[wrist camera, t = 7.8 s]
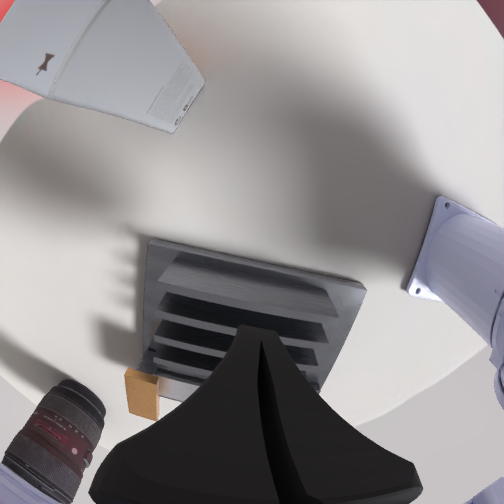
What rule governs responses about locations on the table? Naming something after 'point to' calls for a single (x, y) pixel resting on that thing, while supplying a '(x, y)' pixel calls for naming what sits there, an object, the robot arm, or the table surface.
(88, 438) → the camera lens
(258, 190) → the table surface
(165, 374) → the clip
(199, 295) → the heatsink
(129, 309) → the table surface
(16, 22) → the skincare box
